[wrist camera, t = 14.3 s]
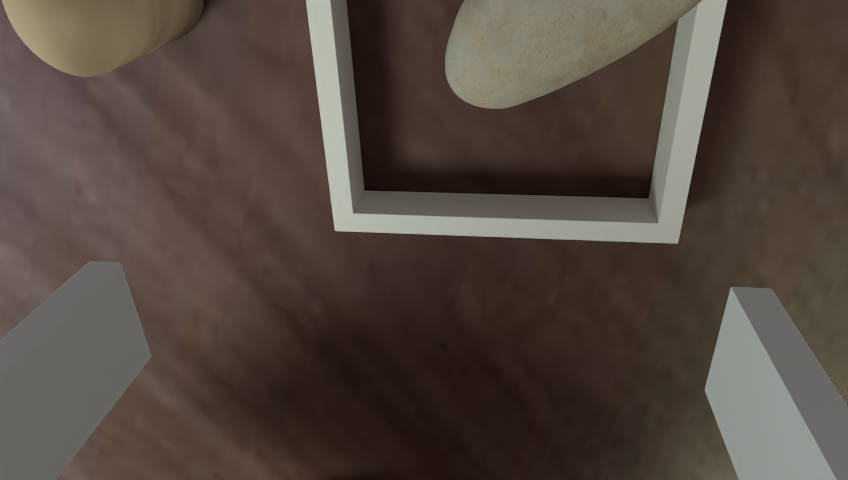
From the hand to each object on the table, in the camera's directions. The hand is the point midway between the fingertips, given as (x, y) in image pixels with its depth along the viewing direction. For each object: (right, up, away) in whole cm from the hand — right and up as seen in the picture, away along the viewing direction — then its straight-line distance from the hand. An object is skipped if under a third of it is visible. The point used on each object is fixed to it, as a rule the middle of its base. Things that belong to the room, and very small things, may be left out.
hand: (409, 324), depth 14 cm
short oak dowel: (-12, +13, +14) cm, 23 cm away
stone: (+3, +9, +14) cm, 17 cm away
